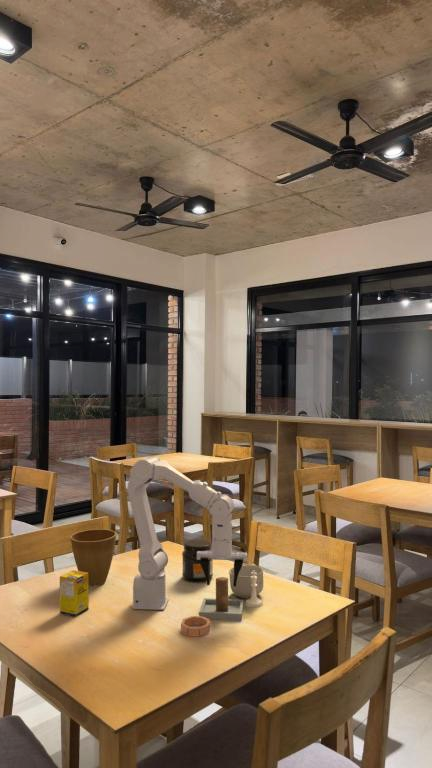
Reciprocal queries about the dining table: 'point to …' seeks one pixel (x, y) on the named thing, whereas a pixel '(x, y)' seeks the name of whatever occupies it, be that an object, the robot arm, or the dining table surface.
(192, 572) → the supplement container
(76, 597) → the supplement box
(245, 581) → the teacup
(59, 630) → the dining table surface
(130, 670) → the dining table surface
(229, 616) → the tray
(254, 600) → the chess piece
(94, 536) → the plant pot
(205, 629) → the ring holder
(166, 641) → the dining table surface
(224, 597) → the dowel
